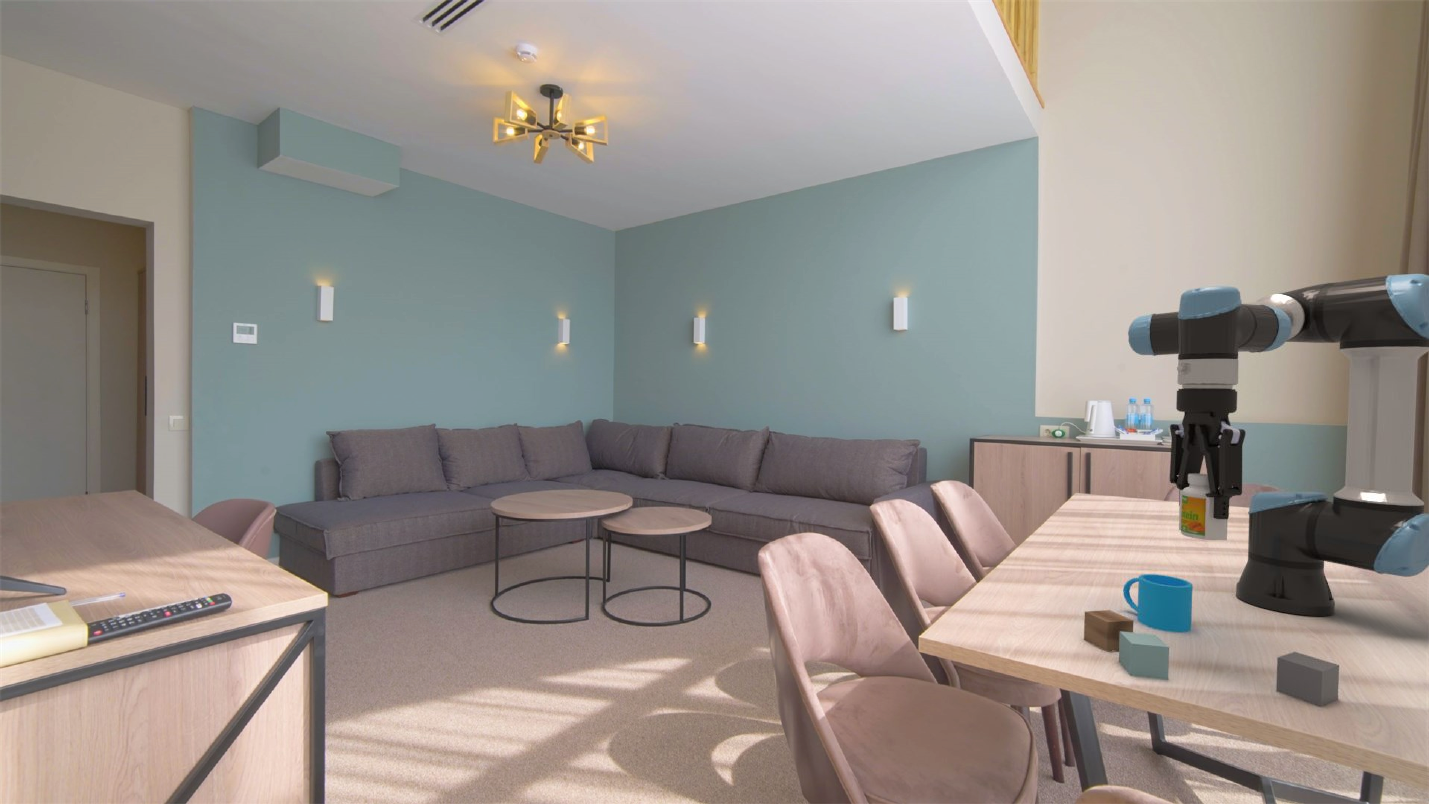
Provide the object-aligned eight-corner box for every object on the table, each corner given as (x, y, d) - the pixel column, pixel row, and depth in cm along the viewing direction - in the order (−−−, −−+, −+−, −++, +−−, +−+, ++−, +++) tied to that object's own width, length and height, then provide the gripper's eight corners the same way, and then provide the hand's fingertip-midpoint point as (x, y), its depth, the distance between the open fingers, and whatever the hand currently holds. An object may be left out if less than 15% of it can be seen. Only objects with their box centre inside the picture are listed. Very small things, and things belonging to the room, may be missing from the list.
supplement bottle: (1172, 532, 103) (1173, 472, 103) (1203, 532, 103) (1205, 472, 103) (1200, 540, 98) (1202, 477, 97) (1232, 540, 98) (1234, 477, 98)
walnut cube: (1108, 638, 112) (1109, 609, 111) (1132, 649, 107) (1133, 620, 107) (1083, 640, 111) (1084, 611, 110) (1106, 651, 106) (1107, 622, 106)
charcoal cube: (1293, 684, 95) (1294, 651, 94) (1337, 700, 90) (1339, 665, 90) (1276, 691, 92) (1277, 657, 92) (1320, 707, 88) (1322, 671, 88)
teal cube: (1154, 666, 100) (1155, 634, 100) (1168, 680, 96) (1169, 647, 96) (1118, 662, 102) (1119, 631, 102) (1130, 675, 97) (1131, 643, 97)
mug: (1201, 629, 116) (1203, 584, 116) (1171, 634, 113) (1172, 589, 113) (1137, 607, 128) (1139, 567, 127) (1108, 612, 125) (1109, 570, 124)
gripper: (1146, 387, 109) (1142, 521, 110) (1223, 387, 91) (1218, 548, 92) (1192, 387, 109) (1188, 522, 109) (1279, 387, 90) (1274, 550, 91)
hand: (1202, 534), depth 100 cm, fingers closed on supplement bottle, 5 cm apart
